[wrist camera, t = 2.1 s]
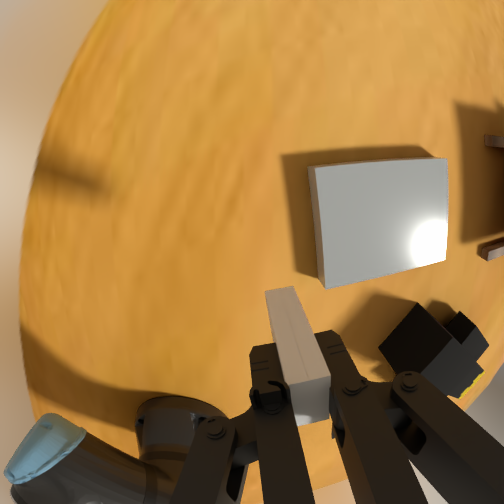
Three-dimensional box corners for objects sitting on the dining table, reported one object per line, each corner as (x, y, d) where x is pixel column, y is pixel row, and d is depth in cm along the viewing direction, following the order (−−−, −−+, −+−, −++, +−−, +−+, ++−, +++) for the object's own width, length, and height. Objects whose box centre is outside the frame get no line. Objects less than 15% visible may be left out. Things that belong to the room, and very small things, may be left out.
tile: (317, 277, 31) (325, 289, 28) (305, 166, 26) (314, 168, 24) (430, 251, 31) (444, 259, 28) (431, 156, 27) (447, 158, 24)
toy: (449, 420, 38) (383, 411, 28) (431, 394, 46) (356, 366, 36) (502, 363, 34) (472, 315, 24) (479, 340, 42) (432, 281, 32)
